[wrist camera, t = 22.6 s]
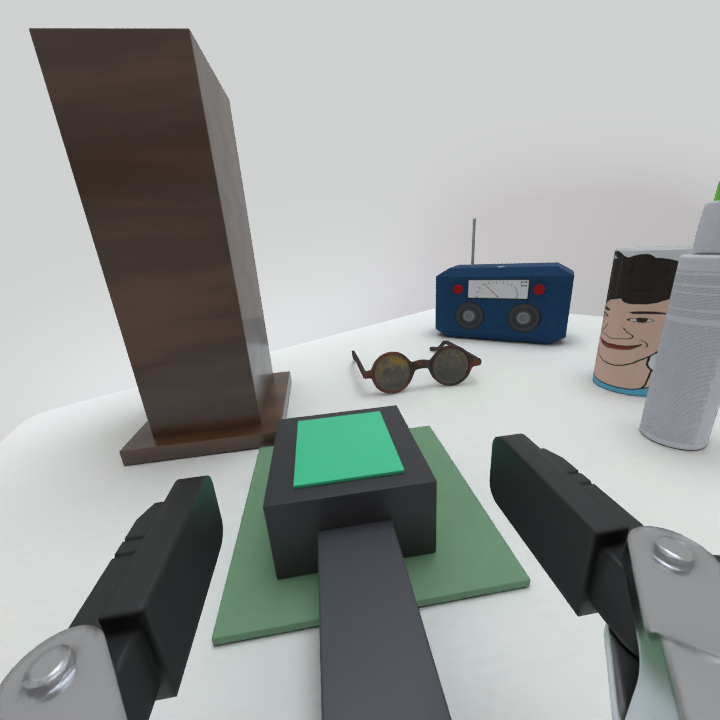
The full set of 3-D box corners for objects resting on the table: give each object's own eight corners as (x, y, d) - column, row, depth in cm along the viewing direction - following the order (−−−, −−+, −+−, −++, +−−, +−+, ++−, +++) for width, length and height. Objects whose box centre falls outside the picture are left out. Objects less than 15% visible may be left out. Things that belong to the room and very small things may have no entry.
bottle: (721, 453, 27) (816, 167, 20) (655, 448, 28) (725, 175, 21) (685, 424, 31) (756, 178, 24) (629, 421, 32) (682, 185, 25)
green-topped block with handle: (610, 977, 8) (659, 883, 6) (223, 1106, 7) (161, 1035, 5) (398, 459, 28) (396, 402, 26) (287, 475, 27) (277, 416, 25)
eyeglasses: (365, 397, 40) (362, 358, 39) (349, 358, 54) (346, 328, 53) (480, 382, 42) (482, 344, 41) (436, 348, 56) (436, 319, 55)
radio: (433, 337, 63) (434, 221, 56) (446, 326, 70) (448, 221, 63) (564, 347, 53) (584, 207, 46) (564, 333, 60) (581, 210, 53)
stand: (282, 445, 32) (211, 8, 21) (123, 465, 30) (-36, 7, 20) (291, 381, 47) (252, 106, 36) (185, 392, 45) (113, 109, 35)
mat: (529, 586, 18) (530, 579, 18) (213, 646, 16) (211, 639, 16) (429, 430, 33) (429, 425, 33) (260, 452, 31) (259, 447, 31)
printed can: (584, 372, 43) (604, 249, 39) (646, 373, 42) (676, 245, 37) (605, 394, 37) (633, 251, 32) (679, 397, 36) (720, 247, 31)
